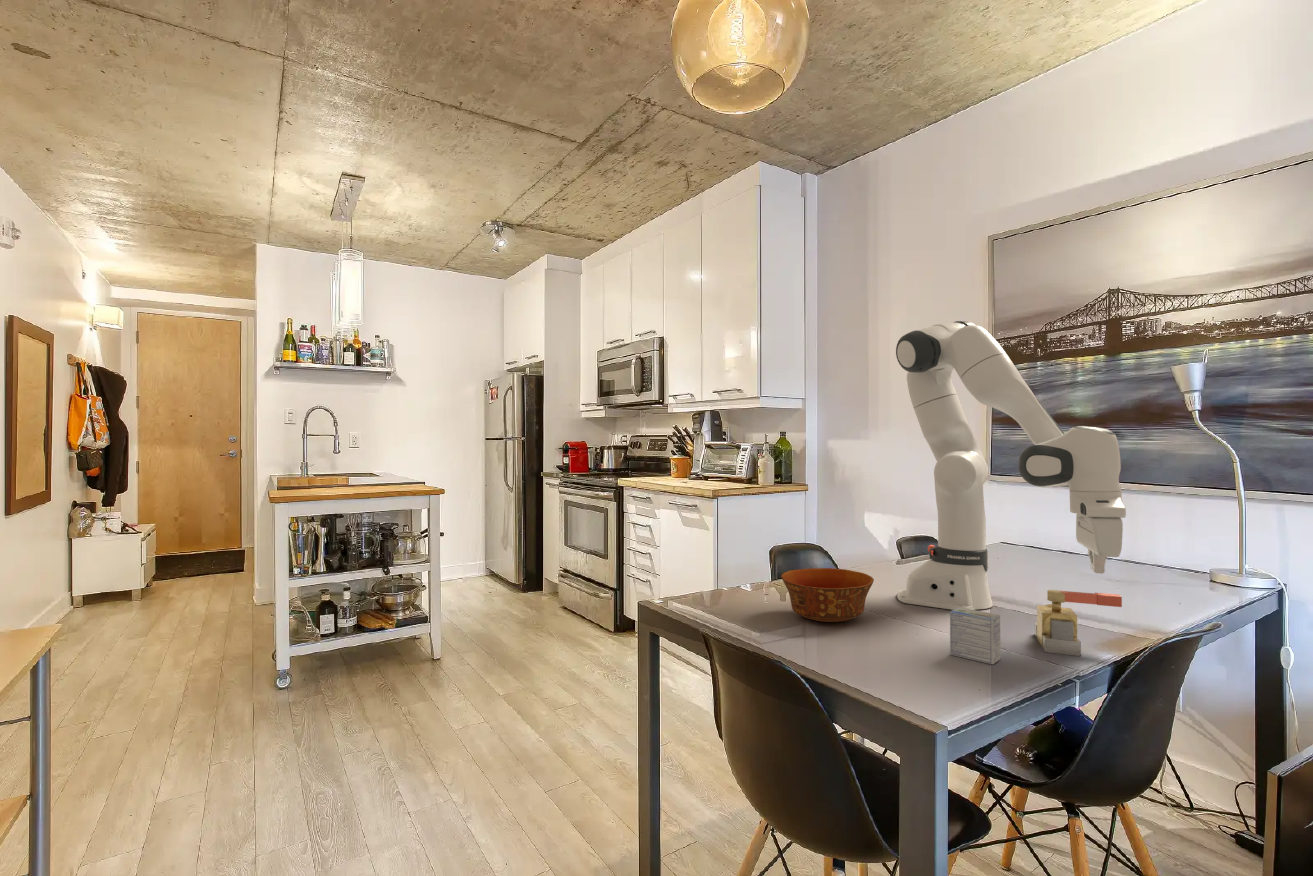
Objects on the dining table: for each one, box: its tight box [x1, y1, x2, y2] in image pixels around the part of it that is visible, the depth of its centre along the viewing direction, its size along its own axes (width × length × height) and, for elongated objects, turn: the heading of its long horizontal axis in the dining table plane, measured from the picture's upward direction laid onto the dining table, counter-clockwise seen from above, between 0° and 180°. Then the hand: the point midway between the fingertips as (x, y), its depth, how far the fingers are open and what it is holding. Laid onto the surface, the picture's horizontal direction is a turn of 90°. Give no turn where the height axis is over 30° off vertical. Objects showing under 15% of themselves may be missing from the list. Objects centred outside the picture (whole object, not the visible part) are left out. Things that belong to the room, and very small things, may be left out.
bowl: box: [780, 567, 875, 623], centre depth 148 cm, size 21×21×10 cm
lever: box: [1046, 589, 1123, 608], centre depth 127 cm, size 12×3×2 cm, turn 67°
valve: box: [1034, 601, 1082, 657], centre depth 129 cm, size 12×6×9 cm, turn 157°
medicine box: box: [949, 608, 1002, 665], centre depth 122 cm, size 8×4×9 cm, turn 44°
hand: (1097, 572), depth 130 cm, fingers closed
